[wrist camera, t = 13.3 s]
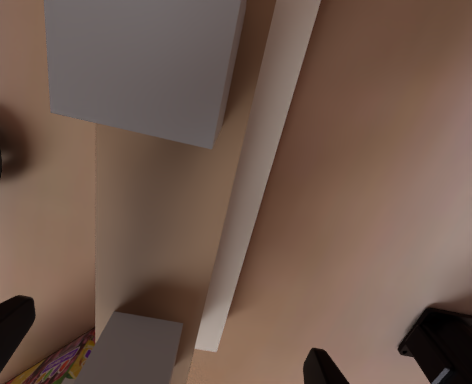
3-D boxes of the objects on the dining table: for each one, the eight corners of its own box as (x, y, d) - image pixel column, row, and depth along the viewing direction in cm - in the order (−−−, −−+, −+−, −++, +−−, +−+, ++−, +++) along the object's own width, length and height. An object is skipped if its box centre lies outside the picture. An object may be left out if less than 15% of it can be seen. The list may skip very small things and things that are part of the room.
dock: (322, -41, 14) (343, -74, 11) (218, 323, 26) (216, 353, 23) (127, -99, 13) (97, -150, 10) (111, 304, 25) (94, 333, 22)
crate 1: (245, 9, 8) (250, -49, 5) (221, 126, 10) (211, 149, 6) (128, -23, 8) (37, -112, 4) (121, 102, 10) (50, 112, 6)
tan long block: (272, -9, 12) (291, -66, 8) (196, 325, 22) (184, 389, 17) (151, -43, 12) (95, -124, 7) (126, 313, 21) (95, 376, 16)
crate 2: (183, 323, 14) (164, 404, 11) (174, 366, 16) (154, 449, 12) (113, 311, 14) (69, 390, 10) (111, 356, 16) (72, 439, 12)
